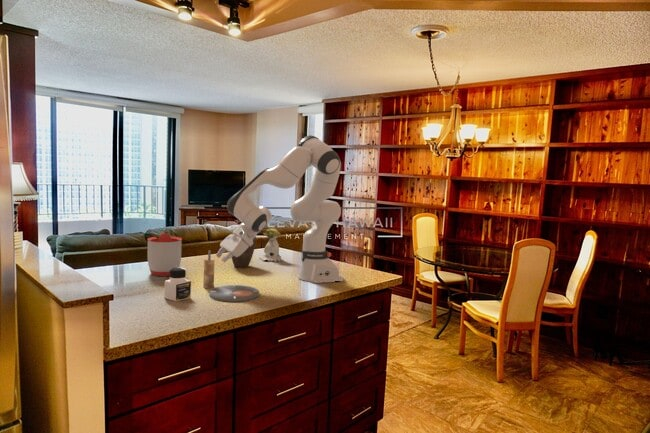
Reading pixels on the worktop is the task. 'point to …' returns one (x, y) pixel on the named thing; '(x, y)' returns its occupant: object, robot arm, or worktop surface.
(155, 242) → the citrus juicer
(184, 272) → the medicine bottle
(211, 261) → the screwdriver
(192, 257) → the worktop surface
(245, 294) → the dial plate
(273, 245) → the green headed figurine
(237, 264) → the plant pot
